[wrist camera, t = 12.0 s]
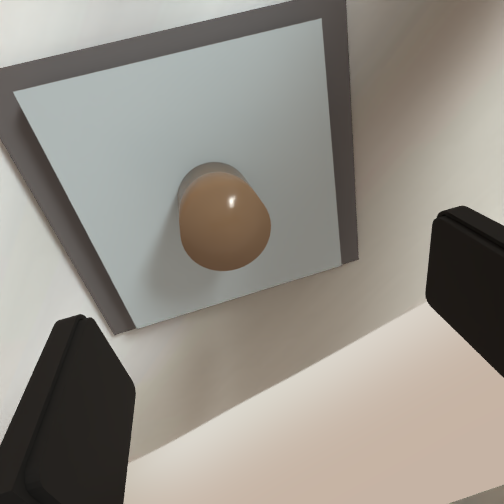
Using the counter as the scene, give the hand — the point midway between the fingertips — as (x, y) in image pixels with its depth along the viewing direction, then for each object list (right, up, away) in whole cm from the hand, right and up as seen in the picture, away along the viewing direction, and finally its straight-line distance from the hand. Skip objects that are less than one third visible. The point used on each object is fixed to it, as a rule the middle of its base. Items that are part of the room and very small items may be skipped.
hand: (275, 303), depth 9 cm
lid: (-3, +5, +10) cm, 11 cm away
